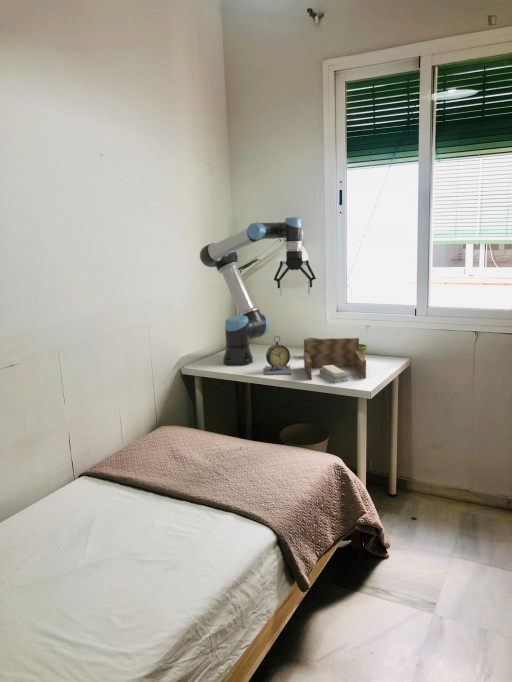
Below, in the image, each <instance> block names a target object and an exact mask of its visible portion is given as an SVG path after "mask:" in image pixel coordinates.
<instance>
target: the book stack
mask: <svg viewBox="0 0 512 682" xmlns="http://www.w3.org/2000/svg"><path fill="white" fill-rule="evenodd" d="M319 375H321V376H322V377H324V378H326V379H327V380H329V381H331V382H333V383H334V384H338V383H339V382H340V383H347V382H349V379H348V377H349V376H348V374H347V373H346V371H344V370H343V369H341V368H340V367H336V366H334V365H326V366H322V368H319ZM346 381H347V382H346ZM340 383H339V384H340Z"/></svg>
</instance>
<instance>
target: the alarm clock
mask: <svg viewBox="0 0 512 682" xmlns="http://www.w3.org/2000/svg"><path fill="white" fill-rule="evenodd" d="M276 337H278V338H279V340H278V341H275V339H276ZM273 341H274V343H276V344H273V345H271V346H270V347H269V348H268V349H267V351H266V354H265V359H266V362H267V363H268V366H272V368H271V370H270V371H272V369H273V367H275V368H283V367H286V368H288V367H287V365H288V364H289V362H290V360H291V353H290V350H289V348H288V347H286V346H285V345H282V344H279V342H280V341H281V337H280V336H279V335H275V336H274V338H273Z"/></svg>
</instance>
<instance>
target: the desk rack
mask: <svg viewBox="0 0 512 682" xmlns="http://www.w3.org/2000/svg"><path fill="white" fill-rule="evenodd" d="M359 344H360V337H341V338H340V337H338V338H337V337H336V338H333V337H332V338H317V339H308V338H304V339H303V357H304V358H303V365H304V366H303V367H304V372H305V376H306V380H312V379H313V377H312V376H313V375H312V374H313V372H312V370H313V369H322V366H326V365H334V366H336V367H337V368H354V369H355V371H356V372H357V373H359V374H358V375H359V377H360V378H361V379H367V359H366V358H364V357H363V356H362V354H361V353H360V352H359Z"/></svg>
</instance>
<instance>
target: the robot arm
mask: <svg viewBox="0 0 512 682" xmlns="http://www.w3.org/2000/svg"><path fill="white" fill-rule="evenodd" d="M267 239H269V240H271V239H272V240H275V239H285V250H286V252H285V253H286V255H285V256H286V260H285V261H282V260H280V261H279V267H278V269H277V271H276V273H275V276H274V278H273V281H274V282H276V283H277V289H279V296H282V295H283V286H282V281H281V280H282V279H283V278H284V276H286V274H287V273H288V271H290V270H291V271H294V270H295V271H299V270H300V271H301V272H302V273H303V275H305V277H307V279H308V280H307V294H308V296H309V295H311V288H312V287H313V281H314V280H316V279H317V278H316V276H315V274H314V271H313V270H312V268H311V266H310V263H309V259H306V260H303V252H302V250H303V246H302V245H303V244H302V243H303V241H302V219H301V218H300V217H297V216H294V217H291V216H290V217H286V218H285V220H284V221H283V222H258V221H257V222H252V223H250V224H249V226H248V227H247V228H245V229H243V230H241V231H239V232H236V233H235V234H233V235H230V236H228V237H226V238H224V239H222V240H220V241H218V242H211V243H208V244H206V245H205V246H203V247H202V248H201V249H200V252H199V259H200V261H201V263H202V264H203V265H204V266H206V267H209V268H216V269H217V272H218V274H221V275H222V277H223V278H224V280H225V283H226V286H227V288H228V290H229V293H230V295H231V297H232V299H233V301H234V303H235V306H236V308H237V311H238V313H239V315H234V316H231V317H227V318H226V319H225V323H224V329H225V332H224V333H225V346H226V347H225V351H224V355H223V360H222V361H223V364H224V365H226V364H227V365H226V366H232V365H240V366H245V365H246V364H247V365H251V364H252V363H253V362H254V357H253V354H252V352H251V349H250V340H253V339H257V338H261V337H263V336H265V335H266V334H267V333H268V331H269V328H270V321H269V318H268V317H267V315H264V314H262V313H261V311H260V309H259V308H256V307H255V305H254V303H253V300H252V298H251V296H250V294H249V291H248V289H247V286H246V285H245V283H244V281H243V277H242V276H241V273H240V270H239V268H238V265H239V262H238V261H239V258H240V257H239V252H238V251H239V250H241V249H243V248H245V247H248V246H250V245H252V244H255V243H256V242H259V241H260V240H267ZM303 264H304V265H305V266H306V267H307V270H308V271H309V273H310V275H311V276H310V275H309V274H308V272H307V271H306V270H305V269H304V268H303V267H302V265H303ZM284 266H286V269H285V270H284V271H283V272H282V273H281V275H280V276H279V274H280V272H281V271H282V268H283V267H284ZM278 276H279V277H278ZM250 363H251V364H250ZM247 365H246V366H247Z"/></svg>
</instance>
